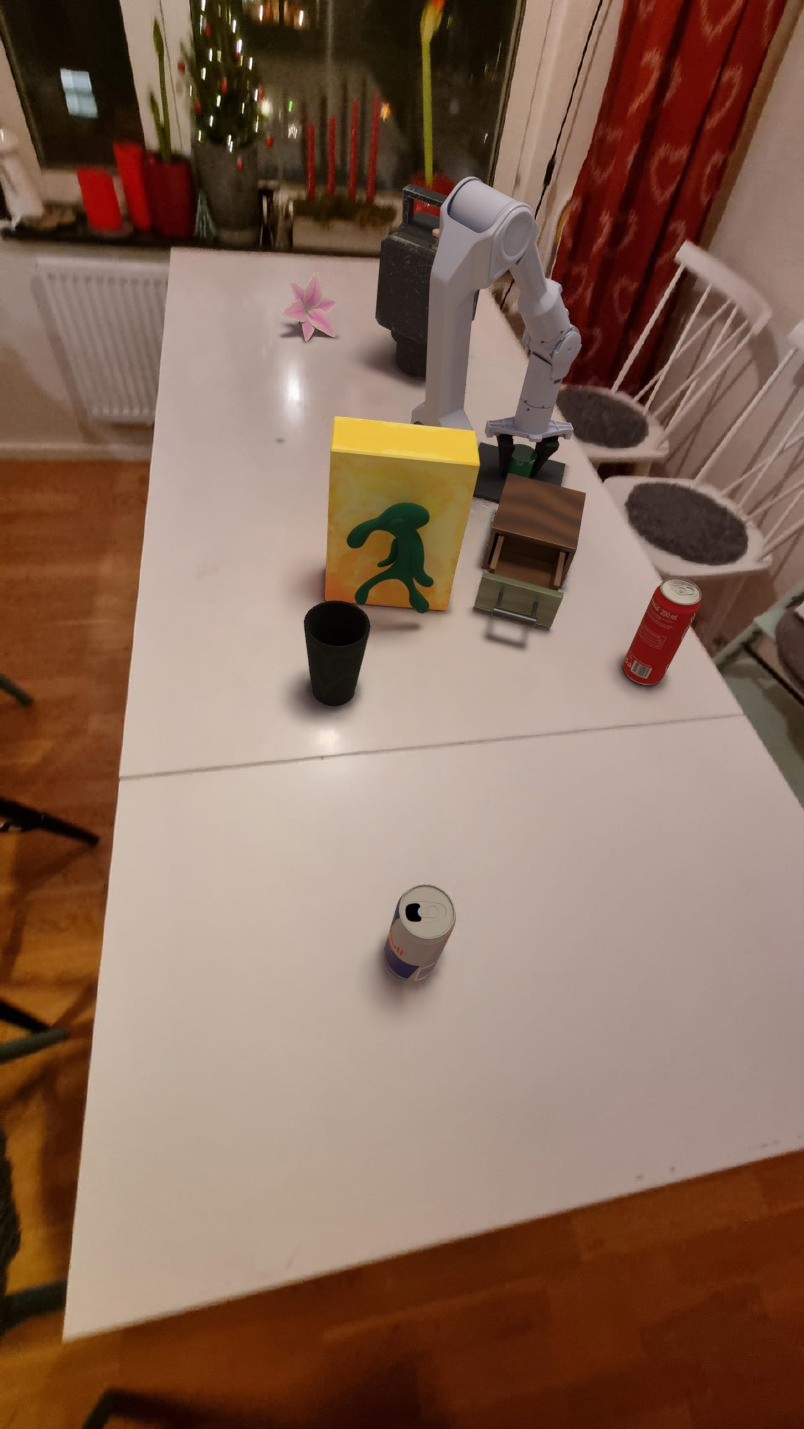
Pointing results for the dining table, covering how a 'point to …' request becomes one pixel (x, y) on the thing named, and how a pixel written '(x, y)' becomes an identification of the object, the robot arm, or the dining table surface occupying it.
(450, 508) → the mottled yellow carton
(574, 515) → the cabinet
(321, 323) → the lily
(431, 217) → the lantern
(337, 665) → the cup
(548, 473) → the mat
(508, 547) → the drawer
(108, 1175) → the dining table surface
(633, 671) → the beverage can
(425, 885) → the energy drink
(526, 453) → the green cylinder
